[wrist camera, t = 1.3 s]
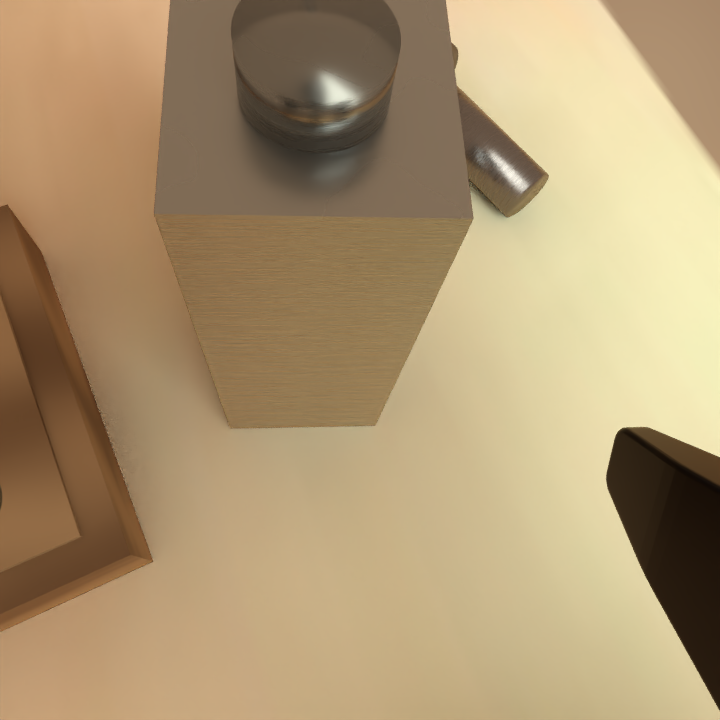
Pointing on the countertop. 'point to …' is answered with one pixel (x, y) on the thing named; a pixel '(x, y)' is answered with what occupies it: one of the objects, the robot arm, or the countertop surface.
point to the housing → (310, 196)
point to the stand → (52, 451)
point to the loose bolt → (496, 159)
